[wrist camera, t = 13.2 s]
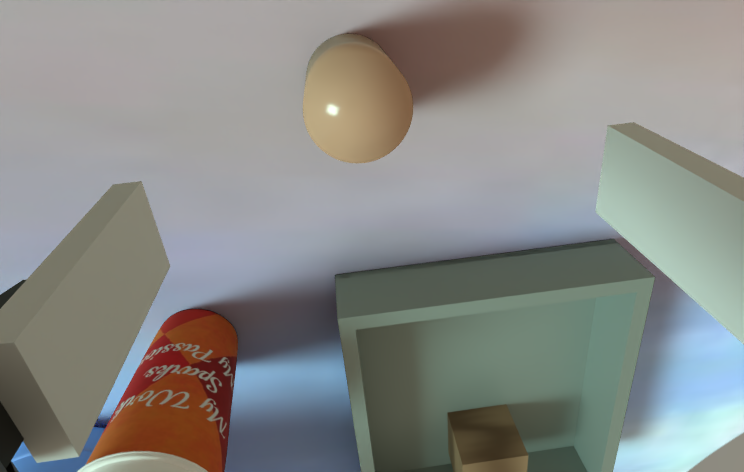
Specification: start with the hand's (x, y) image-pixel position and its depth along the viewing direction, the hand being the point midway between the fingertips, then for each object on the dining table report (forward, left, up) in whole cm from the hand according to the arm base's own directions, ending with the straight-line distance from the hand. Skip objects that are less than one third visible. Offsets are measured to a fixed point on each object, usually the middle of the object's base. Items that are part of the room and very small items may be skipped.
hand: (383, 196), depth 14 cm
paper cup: (+17, -13, -17) cm, 27 cm away
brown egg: (0, 0, -17) cm, 16 cm away
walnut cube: (+30, +8, -16) cm, 35 cm away
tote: (+24, +8, -17) cm, 30 cm away
